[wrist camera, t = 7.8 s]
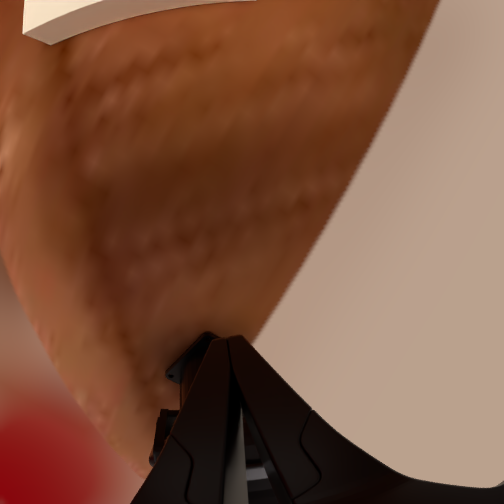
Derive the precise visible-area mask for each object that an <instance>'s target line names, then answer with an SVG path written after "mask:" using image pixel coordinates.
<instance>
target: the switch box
mask: <svg viewBox="0 0 504 504" xmlns="http://www.w3.org/2000/svg"><path fill="white" fill-rule="evenodd" d="M235 1H257V0H25V4H24V17H23V34H24V35H27V36H29V37H32V38H34V39H37V40H39V41H42V42H44V43H46V44H49V45H52V44H55V43H57V42H59V41H62V40H64V39H67V38H69V37H72V36H75V35H77V34H80V33H83V32H86V31H88V30H91V29H94V28H97V27H100V26H104V25H107V24H110V23H113V22H117V21H120V20H124V19H128V18H132V17H136V16H140V15H144V14H149V13H153V12H158V11H163V10H168V9H174V8H180V7H187V6H194V5H202V4H211V3H221V2H235Z"/></svg>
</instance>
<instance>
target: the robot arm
mask: <svg viewBox="0 0 504 504" xmlns="http://www.w3.org/2000/svg"><path fill="white" fill-rule="evenodd" d="M206 338H210V339H206ZM227 340H228V341H227ZM170 374H172V375H170ZM166 378H167V379H169V380H171V381H173V382H175V383H178V384H180V410H168V409H161V412H160V417H158V420H157V422H156V433H155V439H154V445H153V448H152V451H151V453H150V456H149V463H150V465H151V466H152V467H153V468H152V470H151V471H150V473H149V475H148V476H147V478H146V480H145V481H144V483H143V485H142V486H141V488H140V489H139V491H138V493H137V494H136V495H135V497H134V498H133V500H132V501H131V503H130V504H504V481H503V482H501V483H500V484H499V485H497V486H496V487H492V488H474V487H465V486H456V485H449V484H441V483H435V482H429V481H423V480H419V479H414V478H411V477H408V476H405V475H403V474H401V473H398V472H396V471H395V470H393V469H391V468H390V467H388V466H386V465H385V464H383V463H382V462H380V461H379V460H377V459H375V458H374V457H373V456H371V455H369V454H368V453H366V452H365V451H364V450H362V449H361V448H359V447H358V446H356V445H355V444H353V443H352V442H350V441H349V440H348V439H346V438H345V437H344V436H342V435H341V434H340V433H339V432H337V431H336V430H335V429H334V428H333V427H331V426H330V425H329V424H328V423H327V422H326V421H325V420H324V419H322V417H321V416H320V415H319V414H318V413H316V411H315V410H312V408H311V407H310V406H309V405H308V404H307V403H306V402H305V401H304V400H303V399H302V398H301V397H300V396H299V395H298V394H297V393H296V392H295V391H294V390H293V389H292V388H291V387H290V385H288V383H286V381H284V379H283V378H282V377H281V376H280V375H279V374H278V373H277V372H276V371H275V370H274V369H273V368H272V367H271V366H270V365H269V364H268V362H267V361H266V360H265V359H264V358H263V357H262V356H261V355H260V354H259V353H258V352H257V351H256V350H255V348H254V347H253V346H252V345H251V344H250V343H249V342H248V341H247V340H246V339H245V338H244V336H242V335H236V336H230V337H228V339H226V338H218V337H217V336H215V335H213V334H211V333H204V334H202V335H201V336H200V337H199V338H198V339H197V341H196V342H195V343H194V344H193V345H192V346H191V347H190V348H189V349H188V350H187V351H186V352H185V353H184V354H183V355H182V356H181V357H180V358H179V359H178V360H177V361H176V362H175V363H174V364H173V365H172V366H171V367H170V368H169V369H168V370H167V371H166Z"/></svg>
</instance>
